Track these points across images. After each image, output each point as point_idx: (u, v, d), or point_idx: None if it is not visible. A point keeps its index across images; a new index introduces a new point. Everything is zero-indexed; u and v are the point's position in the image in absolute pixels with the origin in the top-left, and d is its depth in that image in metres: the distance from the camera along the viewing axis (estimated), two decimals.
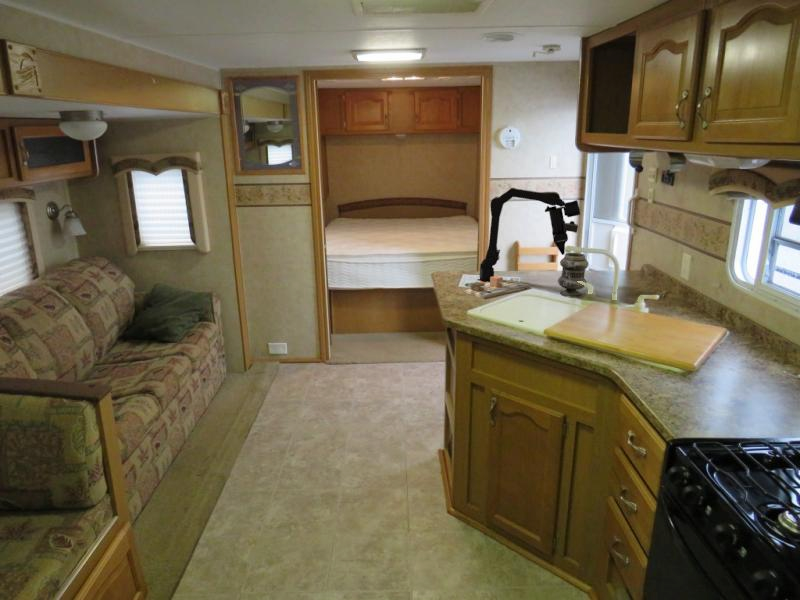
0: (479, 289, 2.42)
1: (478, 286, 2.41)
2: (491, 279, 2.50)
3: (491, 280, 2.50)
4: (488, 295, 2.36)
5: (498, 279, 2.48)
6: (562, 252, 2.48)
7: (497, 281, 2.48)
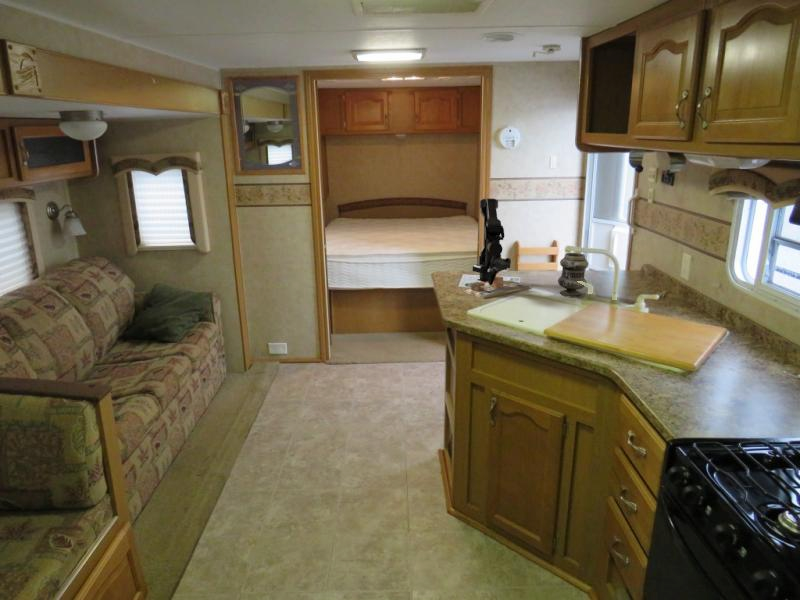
0: (479, 289, 2.42)
1: (478, 286, 2.41)
2: None
3: None
4: (488, 295, 2.36)
5: (499, 279, 2.48)
6: (489, 282, 2.48)
7: (498, 281, 2.48)
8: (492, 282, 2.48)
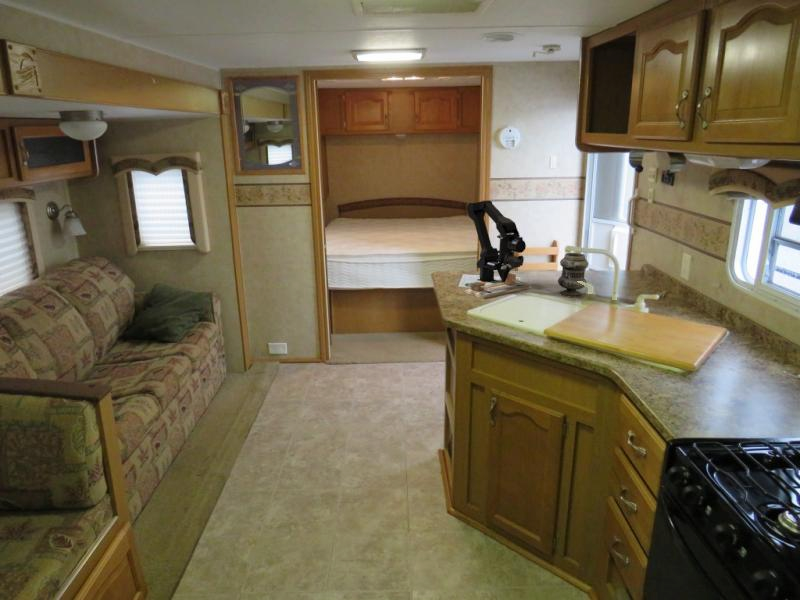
0: (479, 289, 2.42)
1: (478, 286, 2.41)
2: None
3: None
4: (488, 295, 2.36)
5: (511, 276, 2.53)
6: (502, 279, 2.53)
7: (510, 278, 2.53)
8: (505, 279, 2.53)
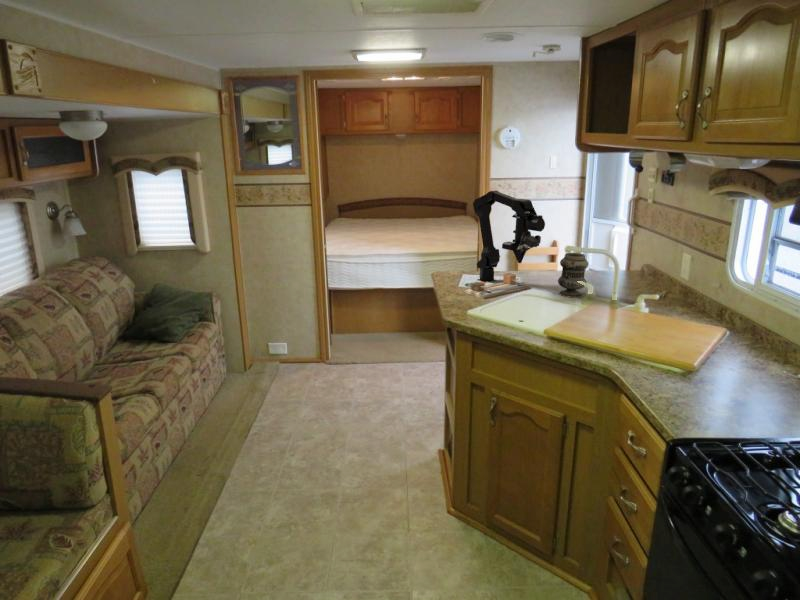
0: (479, 289, 2.42)
1: (478, 286, 2.41)
2: (504, 276, 2.55)
3: (504, 277, 2.55)
4: (488, 295, 2.36)
5: (511, 276, 2.53)
6: (518, 260, 2.46)
7: (510, 278, 2.53)
8: (521, 260, 2.46)
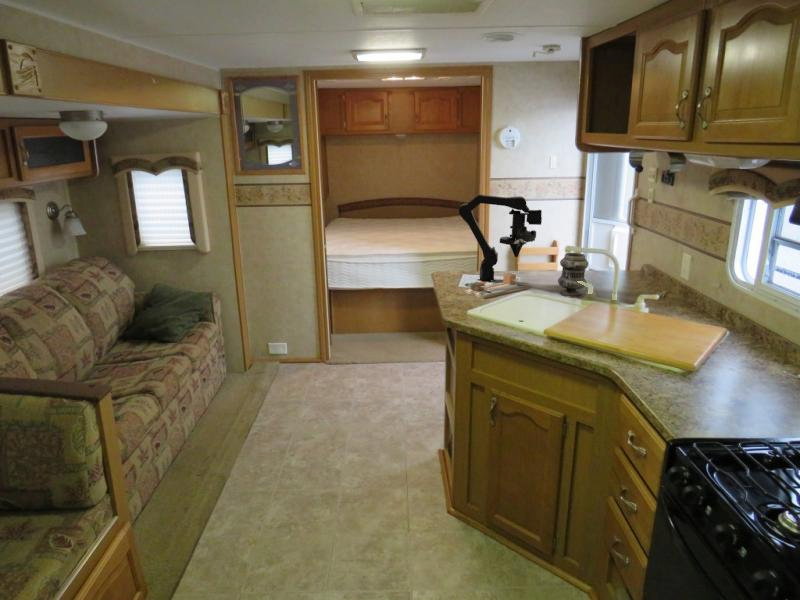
0: (479, 289, 2.42)
1: (478, 286, 2.41)
2: (504, 276, 2.55)
3: (504, 277, 2.55)
4: (488, 295, 2.36)
5: (511, 276, 2.53)
6: (515, 254, 2.59)
7: (510, 278, 2.53)
8: (518, 254, 2.59)
